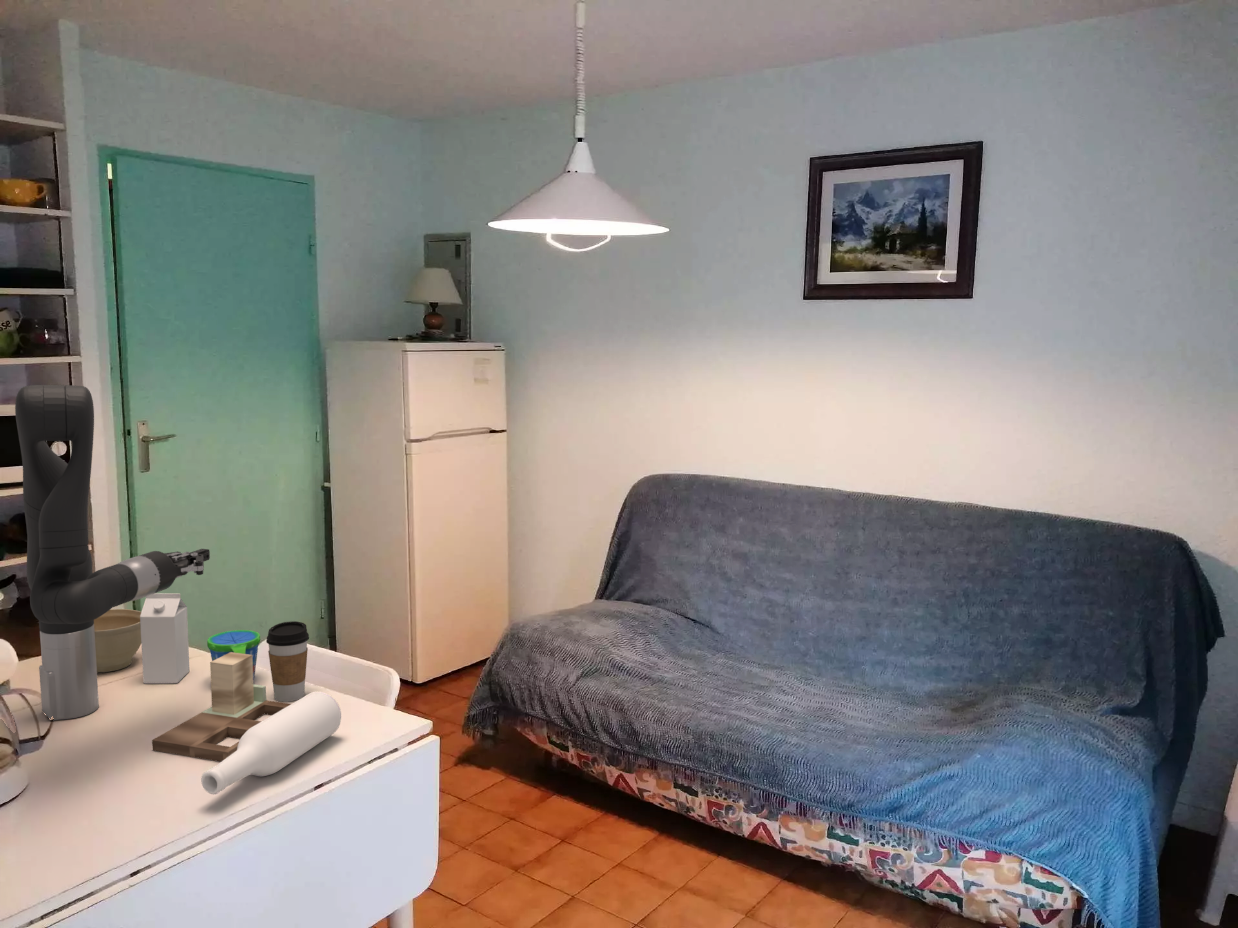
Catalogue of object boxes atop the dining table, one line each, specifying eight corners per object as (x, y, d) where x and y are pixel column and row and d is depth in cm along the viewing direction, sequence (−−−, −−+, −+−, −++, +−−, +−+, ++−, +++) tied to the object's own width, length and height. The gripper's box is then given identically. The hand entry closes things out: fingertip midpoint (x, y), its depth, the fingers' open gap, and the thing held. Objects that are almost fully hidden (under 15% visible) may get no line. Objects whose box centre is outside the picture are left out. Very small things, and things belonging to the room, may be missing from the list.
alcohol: (301, 688, 178) (184, 754, 150) (341, 690, 176) (229, 758, 147) (306, 732, 179) (191, 807, 151) (345, 735, 177) (236, 811, 148)
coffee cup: (317, 689, 199) (315, 621, 197) (299, 705, 191) (298, 634, 189) (279, 687, 200) (277, 619, 198) (260, 702, 192) (258, 632, 190)
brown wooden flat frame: (228, 762, 165) (227, 752, 165) (152, 750, 170) (152, 739, 169) (301, 714, 186) (301, 705, 186) (232, 704, 191) (232, 695, 190)
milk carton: (156, 672, 207) (152, 588, 204) (189, 671, 208) (186, 588, 205) (143, 684, 200) (138, 598, 197) (177, 683, 201) (173, 598, 198)
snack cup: (207, 673, 207) (205, 628, 206) (258, 666, 212) (256, 623, 210) (210, 698, 193) (208, 651, 192) (265, 691, 198) (263, 645, 196)
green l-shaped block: (237, 727, 180) (236, 702, 179) (202, 721, 182) (201, 697, 181) (266, 709, 189) (265, 685, 188) (232, 704, 191) (231, 681, 190)
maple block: (234, 714, 181) (232, 665, 180) (212, 711, 182) (210, 662, 181) (253, 702, 187) (252, 654, 185) (232, 699, 188) (230, 652, 187)
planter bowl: (91, 684, 199) (88, 635, 198) (52, 668, 208) (49, 621, 206) (163, 663, 213) (160, 617, 211) (123, 648, 221) (121, 604, 220)
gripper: (170, 560, 168) (234, 538, 185) (110, 552, 172) (177, 532, 188) (172, 600, 170) (235, 575, 186) (112, 592, 173) (179, 568, 189)
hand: (206, 553), depth 187 cm, fingers closed
